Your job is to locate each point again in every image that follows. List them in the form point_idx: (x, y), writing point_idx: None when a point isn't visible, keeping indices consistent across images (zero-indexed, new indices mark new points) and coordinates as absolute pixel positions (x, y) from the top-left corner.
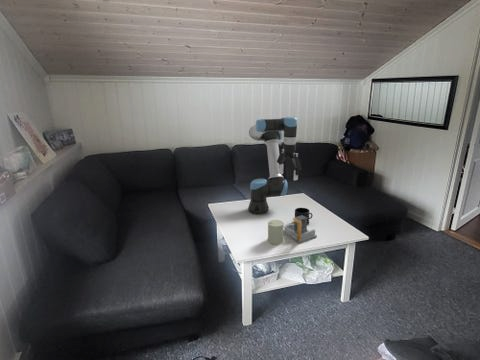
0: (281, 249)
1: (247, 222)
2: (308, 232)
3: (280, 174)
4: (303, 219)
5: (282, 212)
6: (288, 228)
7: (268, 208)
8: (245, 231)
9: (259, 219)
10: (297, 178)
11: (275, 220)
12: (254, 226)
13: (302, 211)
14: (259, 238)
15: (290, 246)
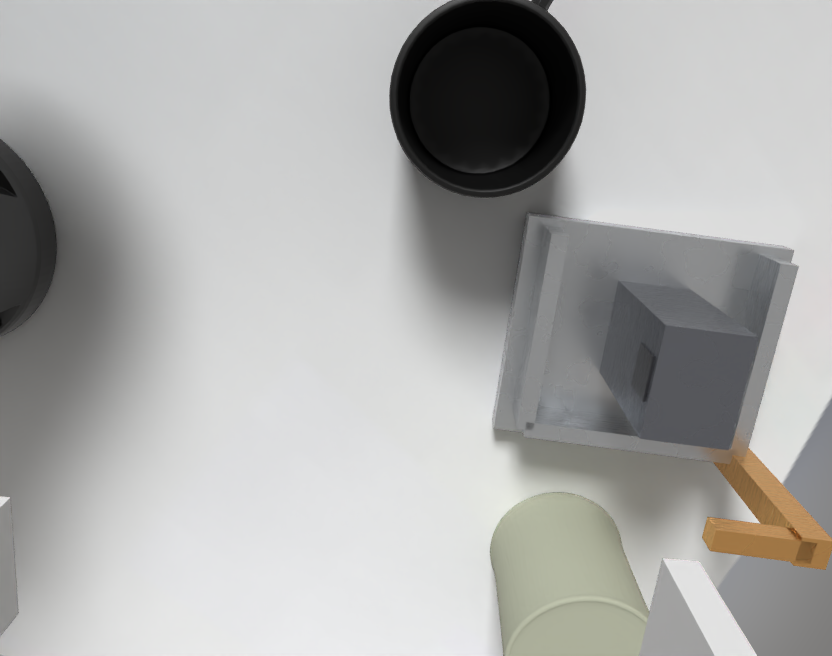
0: None
1: (134, 500)
2: (772, 356)
3: (15, 592)
4: (739, 391)
5: (138, 52)
6: (577, 437)
7: (3, 165)
8: (271, 614)
9: (144, 377)
10: (712, 598)
11: (539, 629)
12: (241, 506)
13: (435, 28)
14: (439, 611)
15: (703, 529)
